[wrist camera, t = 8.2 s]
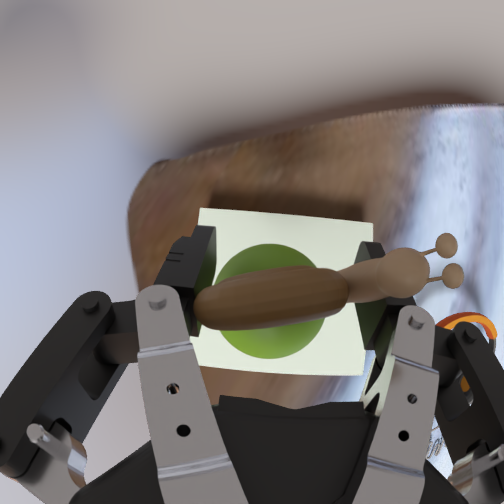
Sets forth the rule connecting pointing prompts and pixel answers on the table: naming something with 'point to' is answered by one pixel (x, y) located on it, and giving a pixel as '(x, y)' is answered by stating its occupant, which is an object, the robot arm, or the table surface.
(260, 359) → the sage board
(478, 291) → the table surface
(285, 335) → the snail figurine
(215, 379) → the table surface
